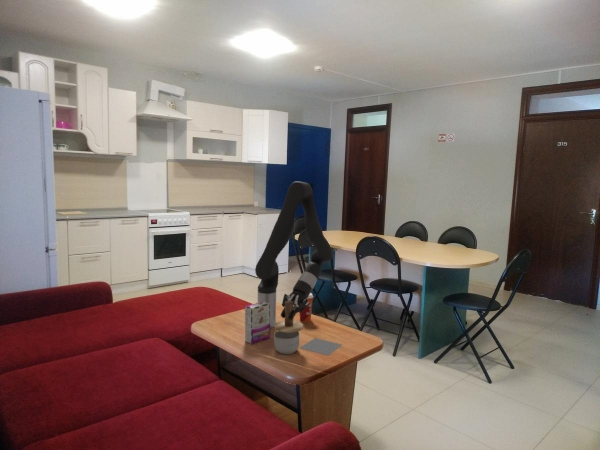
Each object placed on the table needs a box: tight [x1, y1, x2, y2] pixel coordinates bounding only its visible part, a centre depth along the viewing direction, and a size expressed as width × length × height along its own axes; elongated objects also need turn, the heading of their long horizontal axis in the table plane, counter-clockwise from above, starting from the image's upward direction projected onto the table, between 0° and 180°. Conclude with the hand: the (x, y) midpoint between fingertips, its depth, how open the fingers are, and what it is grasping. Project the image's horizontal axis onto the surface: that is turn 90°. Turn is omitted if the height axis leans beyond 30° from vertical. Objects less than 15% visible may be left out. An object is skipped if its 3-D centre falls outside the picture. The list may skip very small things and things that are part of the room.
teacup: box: [273, 330, 300, 355], centre depth 170 cm, size 14×11×8 cm
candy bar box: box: [244, 301, 271, 345], centre depth 180 cm, size 11×5×16 cm, turn 137°
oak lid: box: [274, 301, 304, 333], centre depth 169 cm, size 12×12×11 cm
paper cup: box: [299, 292, 314, 323], centre depth 209 cm, size 8×8×14 cm
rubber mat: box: [299, 337, 343, 356], centre depth 174 cm, size 14×14×1 cm
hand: (285, 317), depth 167 cm, fingers closed on oak lid, 3 cm apart
